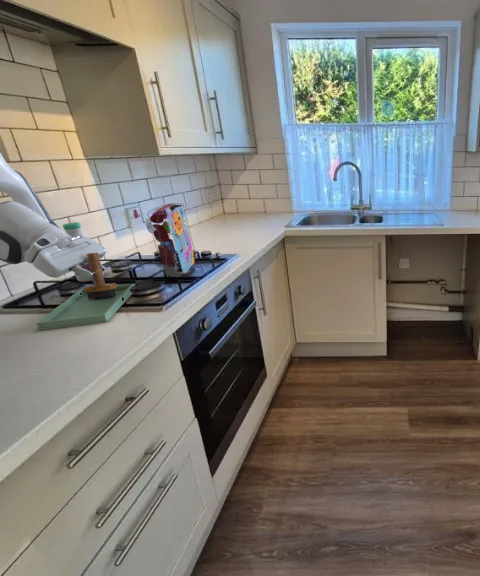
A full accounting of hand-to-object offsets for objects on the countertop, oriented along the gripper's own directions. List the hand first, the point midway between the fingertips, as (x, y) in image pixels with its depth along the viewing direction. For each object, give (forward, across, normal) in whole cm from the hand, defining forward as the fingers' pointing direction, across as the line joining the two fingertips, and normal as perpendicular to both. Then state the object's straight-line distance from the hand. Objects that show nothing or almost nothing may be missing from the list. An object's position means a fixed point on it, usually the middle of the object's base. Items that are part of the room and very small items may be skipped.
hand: (98, 273), depth 111 cm
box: (+16, -16, +4) cm, 23 cm away
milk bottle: (-7, -18, -18) cm, 27 cm away
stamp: (+5, +2, -5) cm, 7 cm away
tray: (+6, +7, -5) cm, 11 cm away
